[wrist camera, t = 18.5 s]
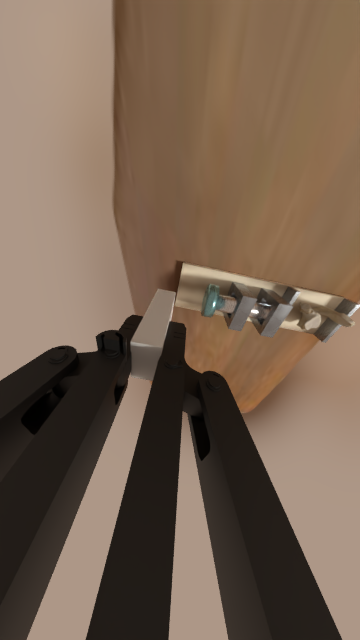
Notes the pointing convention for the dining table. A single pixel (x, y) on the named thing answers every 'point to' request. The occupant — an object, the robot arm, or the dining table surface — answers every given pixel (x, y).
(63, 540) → the robot arm
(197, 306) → the board
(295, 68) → the dining table surface
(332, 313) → the bone
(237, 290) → the grey angular blocks
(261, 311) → the shaft
